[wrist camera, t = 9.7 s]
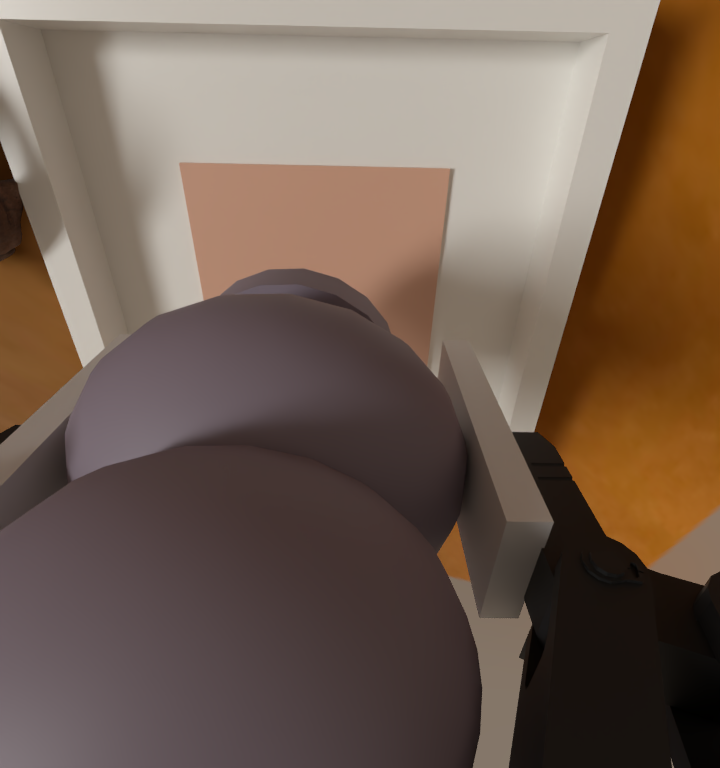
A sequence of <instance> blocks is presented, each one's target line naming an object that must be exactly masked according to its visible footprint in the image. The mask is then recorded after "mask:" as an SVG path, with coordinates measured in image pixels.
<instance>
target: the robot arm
mask: <svg viewBox="0 0 720 768" xmlns="http://www.w3.org/2000/svg"><path fill="white" fill-rule="evenodd" d="M130 335H132V334H120V335H118V336H117V337H116V338H115V339H114V340H113V341H112V342H111V343H110V344H109V345H108V346H107V347H105V348H104V349H103V350H102V351H101V352H100V353H99V354H98V355H97V356H96V357H95V358H94V359H92V360H91V361H90V362H89V363H88V364H87V365H86V366H85V367H84V368H83V369H82V370H81V371H79V372H78V373H77V374H76V375H75V376H74V377H73V378H72V379H71V380H70V381H69V382H68V383H66V384H65V385H64V386H63V387H62V388H61V389H60V390H59V391H58V392H57V393H56V394H55V395H53V396H52V397H51V398H50V399H49V400H48V401H47V402H46V403H45V404H44V405H43V406H42V407H40V408H39V409H38V410H37V411H36V412H35V413H34V414H33V415H32V416H31V417H30V418H29V419H27V420H26V421H25V422H24V423H23V424H22V425H14V426H13V427H11V428H9V429H7V430H5V431H4V432H2V433H0V530H2V529H3V528H5V527H6V526H8V525H9V524H11V523H12V522H13V521H15V520H16V519H18V518H19V517H21V516H22V515H24V514H25V513H26V512H28V511H29V510H31V509H32V508H34V507H35V506H37V505H38V504H40V503H41V502H42V501H44V500H45V499H47V498H48V497H50V496H51V495H53V494H54V493H56V492H57V491H59V490H60V489H61V488H63V487H64V486H66V485H67V472H66V455H65V431H66V428H67V424H68V421H69V418H70V415H71V413H72V411H73V409H74V407H75V405H76V403H77V401H78V398H79V396H80V394H81V392H82V390H83V388H84V386H85V384H86V382H87V380H88V377H89V375H90V373H91V372H92V370H93V369H94V368H95V366H96V365H97V364H98V362H99V361H100V360H101V358H103V357H104V356H105V355H106V354H108V353H109V352H110V351H111V350H113V349H114V348H115V347H117V346H118V345H119V344H120V343H122V342H123V341H124V340H125V339H127V338H128V337H129V336H130ZM438 380H439V381H440V382H441V383H442V384H443V385H444V387H445V389H446V391H447V392H448V394H449V396H450V398H451V401H452V404H453V407H454V410H455V413H456V416H457V419H458V422H459V425H460V427H461V430H462V433H463V436H464V439H465V442H466V449H467V456H468V458H467V467H466V475H465V484H464V493H463V500H462V506H461V511H460V515H459V517H458V519H457V524H458V528H459V532H460V537H461V541H462V545H463V550H464V554H465V558H466V563H467V567H468V571H469V575H470V580H471V584H472V588H473V593H474V597H475V601H476V605H477V610H478V614H479V617H480V618H519V615H520V612H521V609H522V607H523V604H524V601H525V603H526V606H527V609H528V612H529V615H530V618H531V621H532V626H531V629H530V631H529V634H528V636H527V639H526V641H525V644H524V646H523V649H522V651H521V654H520V656H519V658H521V659H524V664H523V672H522V679H521V686H520V692H519V700H518V707H517V713H516V720H515V728H514V734H513V741H512V748H511V755H510V762H509V768H672V765H671V759H672V762H673V766H674V768H720V572H718V573H716V574H714V575H712V576H711V577H710V578H709V580H708V581H707V583H706V584H705V586H703V585H700V584H696V583H692V582H689V581H686V580H682V579H678V578H675V577H671V576H668V575H664V574H661V573H658V572H655V571H652V570H650V569H647V567H646V566H645V565H644V564H643V562H642V561H641V560H640V559H639V557H638V556H637V555H636V554H635V553H634V552H632V551H631V550H630V549H628V548H627V547H626V546H625V545H623V544H622V543H620V542H618V541H616V540H614V539H611V538H609V537H607V536H606V535H605V533H604V532H603V530H602V528H601V526H600V525H599V523H598V521H597V519H596V518H595V516H594V514H593V513H592V511H591V509H590V507H589V506H588V504H587V502H586V500H585V499H584V497H583V495H582V493H581V492H580V490H579V488H578V486H577V485H576V483H575V481H572V476H571V474H570V473H569V471H568V469H567V467H564V462H563V460H562V459H561V457H560V455H559V453H558V452H557V450H556V448H555V447H554V446H553V445H552V444H551V443H550V442H548V441H547V440H546V439H545V438H544V437H543V436H541V435H540V434H539V433H538V432H512V431H511V429H510V427H509V425H508V423H507V421H506V419H505V416H504V414H503V412H502V410H501V408H500V406H499V404H498V401H497V399H496V397H495V395H494V393H493V391H492V389H491V387H490V384H489V382H488V380H487V378H486V376H485V374H484V372H483V369H482V367H481V365H480V363H479V361H478V359H477V357H476V354H475V352H474V350H473V348H472V346H471V344H470V342H469V341H460V340H443V342H442V350H441V357H440V365H439V373H438Z"/></svg>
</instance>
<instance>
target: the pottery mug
mask: <svg viewBox="0 0 720 768" xmlns="http://www.w3.org/2000/svg"><path fill="white" fill-rule="evenodd" d="M22 210H23V202H22V199H21V196H20V194H19V189H18V183H17V182H16V181H15V180H14V178H13V179H7V180H1V181H0V261H2V260H4V259H5V258H7V257H9V256H11V255H12V254H13V253H14V252H15V251H16V250H15V247H17V246H18V245H20V243H21V239H22V232H21V224H20V221H21V215H22Z"/></svg>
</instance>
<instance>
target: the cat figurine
mask: <svg viewBox="0 0 720 768" xmlns="http://www.w3.org/2000/svg"><path fill="white" fill-rule="evenodd" d="M65 455H66V472H67V485H66V486H64V487H63V488H61V489H60V490H59V491H57V492H56V493H54V494H53V495H51V496H50V497H48V498H47V499H45V500H44V501H42V502H41V503H40V504H38V505H37V506H35V507H34V508H32V509H31V510H29V511H28V512H26V513H25V514H24V515H22V516H21V517H19V518H18V519H16V520H15V521H13V522H12V523H11V524H9V525H8V526H6V527H5V528H3V529H2V530H0V768H473V763H474V758H475V754H476V749H477V744H478V740H479V735H480V721H481V701H482V684H481V676H480V668H479V660H478V653H477V648H476V644H475V641H474V638H473V634H472V632H471V628H470V625H469V622H468V618H467V616H466V613H465V612H464V609H463V607H462V605H461V603H460V600H459V598H458V596H457V594H456V592H455V590H454V588H453V585H452V583H451V581H450V579H449V577H448V575H447V573H446V571H445V569H444V567H443V565H442V563H441V561H440V559H439V558H438V556H437V553H438V551H439V550H440V548H441V547H442V545H443V543H444V542H445V540H446V539H447V537H448V535H449V534H450V532H451V531H452V529H453V527H454V525H455V523H456V521H457V519H458V517H459V515H460V511H461V506H462V500H463V493H464V484H465V475H466V467H467V458H468V456H467V449H466V442H465V439H464V436H463V433H462V430H461V427H460V425H459V422H458V419H457V416H456V413H455V410H454V407H453V404H452V401H451V398H450V396H449V394H448V392H447V391H446V389H445V387H444V385H443V384H442V383H441V382H440V381H439V380H438V378H437V377H436V376H435V375H434V374H433V373H432V371H431V370H430V369H429V368H428V367H427V366H426V365H425V363H424V362H423V361H422V360H421V359H420V358H419V357H418V355H417V354H416V353H415V352H414V351H413V350H412V348H411V347H410V346H409V345H408V344H406V343H405V342H404V341H403V340H401V339H400V338H398V337H396V336H394V335H393V334H391V332H390V329H389V326H388V323H387V322H386V320H385V319H384V318H383V316H382V315H381V314H380V313H379V311H378V310H377V309H376V308H375V306H374V305H373V304H372V303H371V301H370V300H369V299H368V298H367V297H366V296H364V295H363V294H361V293H360V292H358V291H357V290H355V289H354V288H352V287H351V286H349V285H348V284H346V283H345V282H343V281H342V280H340V279H339V278H336V277H332V276H329V275H325V274H322V273H318V272H315V271H311V270H308V269H304V268H301V269H268V270H265V271H263V272H260V273H257V274H254V275H252V276H249V277H246V278H243V279H241V280H238V281H236V282H235V283H234V284H233V285H231V286H230V287H229V288H228V289H227V290H225V291H224V292H223V293H222V294H221V295H220V296H216V297H213V298H210V299H207V300H204V301H201V302H198V303H195V304H191V305H188V306H185V307H182V308H179V309H176V310H173V311H170V312H167V313H164V314H160V315H157V316H156V317H154V318H153V319H151V320H150V321H148V322H147V323H145V324H144V325H143V326H142V327H140V328H139V329H138V330H137V331H135V332H134V333H133V334H132V335H130V336H129V337H128V338H127V339H125V340H124V341H123V342H122V343H120V344H119V345H118V346H117V347H115V348H114V349H113V350H111V351H110V352H109V353H108V354H106V355H105V356H104V357H103V358H101V360H100V361H99V362H98V364H97V365H96V366H95V368H94V369H93V370H92V372H91V373H90V375H89V377H88V380H87V382H86V384H85V386H84V388H83V390H82V392H81V394H80V396H79V398H78V401H77V403H76V405H75V407H74V409H73V411H72V413H71V415H70V418H69V421H68V424H67V428H66V431H65Z"/></svg>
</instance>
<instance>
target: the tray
mask: <svg viewBox="0 0 720 768" xmlns="http://www.w3.org/2000/svg"><path fill="white" fill-rule="evenodd" d="M659 3H660V0H0V142H1V144H2V147H3V150H4V153H5V155H6V158H7V161H8V164H9V166H10V169H11V172H12V175H13V177H14V180H15V181H16V182H17V183H18V189H19V194H20V196H21V199H22V202H23V205H24V207H25V210H26V213H27V215H28V218H29V221H30V224H31V226H32V229H33V232H34V235H35V237H36V240H37V243H38V246H39V248H40V251H41V254H42V256H43V259H44V262H45V265H46V267H47V270H48V273H49V276H50V278H51V281H52V284H53V287H54V289H55V292H56V295H57V297H58V300H59V303H60V306H61V308H62V311H63V314H64V317H65V319H66V322H67V325H68V328H69V330H70V333H71V336H72V338H73V341H74V344H75V347H76V349H77V352H78V355H79V358H80V360H81V363H82V366H83V368H84V367H85V366H86V365H87V364H88V363H89V362H90V361H91V360H92V359H94V358H95V357H96V356H97V355H98V354H99V353H100V352H101V351H102V350H103V349H104V348H105V347H107V346H108V345H109V344H110V343H111V342H112V341H113V340H114V339H115V338H116V337H117V336H118V335H120V334H133V333H134V332H135V331H137V330H138V329H139V328H140V327H142V326H143V325H144V324H145V323H147V322H148V321H150V320H151V319H153V318H154V317H156V316H157V315H160V314H164V313H167V312H170V311H173V310H176V309H179V308H182V307H185V306H188V305H191V304H195V303H198V302H201V301H204V300H207V299H210V298H213V297H216V296H220V295H221V294H222V293H223V292H224V291H225V290H227V289H228V288H229V287H230V286H231V285H233V284H234V283H235V282H236V281H238V280H241V279H243V278H246V277H249V276H252V275H254V274H257V273H260V272H263V271H265V270H268V269H301V268H304V269H308V270H311V271H315V272H318V273H322V274H325V275H329V276H332V277H336V278H339V279H340V280H342V281H343V282H345V283H346V284H348V285H349V286H351V287H352V288H354V289H355V290H357V291H358V292H360V293H361V294H363V295H364V296H366V297H367V298H368V299H369V300H370V301H371V303H372V304H373V305H374V306H375V308H376V309H377V310H378V311H379V313H380V314H381V315H382V316H383V318H384V319H385V320H386V322H387V323H388V326H389V329H390V332H391V334H393V335H394V336H396V337H398V338H400V339H401V340H403V341H404V342H405V343H406V344H408V345H409V346H410V347H411V348H412V350H413V351H414V352H415V353H416V354H417V355H418V357H419V358H420V359H421V360H422V361H423V362H424V363H425V365H426V366H427V367H428V368H429V369H430V370H431V371H432V373H433V374H434V375H435V376H436V377H437V378H438V373H439V365H440V357H441V350H442V342H443V340H460V341H469V342H470V344H471V346H472V348H473V350H474V352H475V354H476V357H477V359H478V361H479V363H480V365H481V367H482V369H483V372H484V374H485V376H486V378H487V380H488V382H489V384H490V387H491V389H492V391H493V393H494V395H495V397H496V399H497V401H498V404H499V406H500V408H501V410H502V412H503V414H504V416H505V419H506V421H507V423H508V425H509V427H510V429H511V431H512V432H534V431H535V427H536V424H537V420H538V417H539V414H540V410H541V407H542V403H543V400H544V396H545V393H546V390H547V386H548V383H549V379H550V376H551V372H552V369H553V366H554V362H555V359H556V355H557V352H558V349H559V345H560V342H561V338H562V335H563V331H564V328H565V325H566V321H567V318H568V314H569V311H570V307H571V304H572V301H573V297H574V294H575V290H576V287H577V284H578V280H579V277H580V273H581V270H582V266H583V263H584V260H585V256H586V253H587V249H588V246H589V242H590V239H591V236H592V232H593V229H594V225H595V222H596V218H597V215H598V212H599V208H600V205H601V201H602V198H603V195H604V191H605V188H606V184H607V181H608V177H609V174H610V171H611V167H612V164H613V160H614V157H615V153H616V150H617V147H618V143H619V140H620V136H621V133H622V130H623V126H624V123H625V119H626V116H627V112H628V109H629V106H630V102H631V99H632V95H633V92H634V88H635V85H636V82H637V78H638V75H639V71H640V68H641V64H642V61H643V58H644V54H645V51H646V47H647V44H648V41H649V37H650V34H651V30H652V27H653V23H654V20H655V17H656V13H657V10H658V6H659Z"/></svg>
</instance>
